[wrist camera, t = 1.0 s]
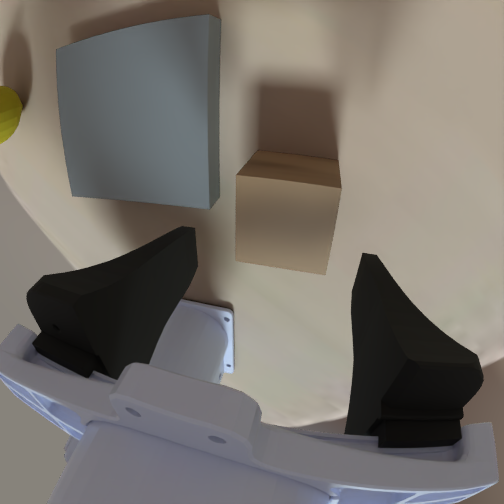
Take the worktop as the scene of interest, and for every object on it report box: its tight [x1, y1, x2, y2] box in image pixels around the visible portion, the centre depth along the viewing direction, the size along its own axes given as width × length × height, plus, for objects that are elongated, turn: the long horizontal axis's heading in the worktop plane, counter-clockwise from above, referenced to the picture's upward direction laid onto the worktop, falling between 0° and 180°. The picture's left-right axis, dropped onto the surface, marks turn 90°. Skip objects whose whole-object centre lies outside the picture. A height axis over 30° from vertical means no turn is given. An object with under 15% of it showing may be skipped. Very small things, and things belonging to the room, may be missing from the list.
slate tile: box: [56, 14, 221, 209], centre depth 18 cm, size 12×12×2 cm
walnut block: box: [236, 150, 342, 275], centre depth 17 cm, size 5×5×5 cm
